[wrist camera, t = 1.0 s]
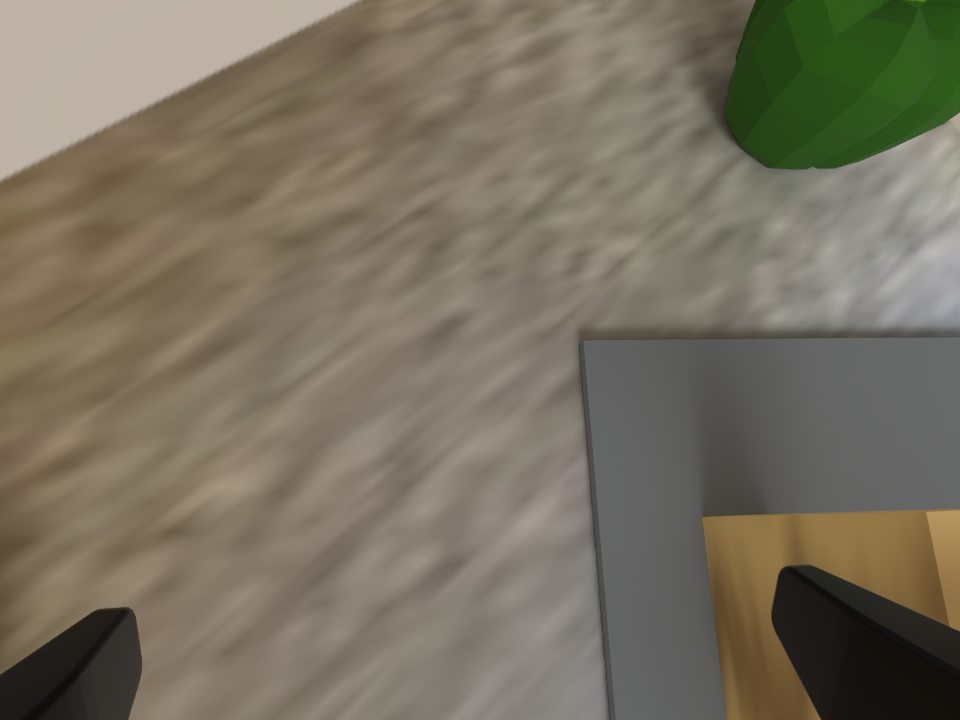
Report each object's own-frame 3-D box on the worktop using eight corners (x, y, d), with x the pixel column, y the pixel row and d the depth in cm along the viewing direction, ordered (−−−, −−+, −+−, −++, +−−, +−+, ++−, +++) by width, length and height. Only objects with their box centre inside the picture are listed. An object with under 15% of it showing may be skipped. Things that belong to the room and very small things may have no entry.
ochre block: (800, 731, 21) (1132, 903, 12) (729, 738, 21) (1009, 920, 11) (768, 514, 23) (1035, 506, 13) (702, 516, 23) (925, 511, 13)
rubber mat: (1127, 841, 22) (1146, 850, 22) (625, 903, 20) (632, 914, 19) (1002, 340, 27) (1015, 336, 26) (579, 344, 24) (583, 339, 24)
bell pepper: (654, 92, 28) (791, -138, 18) (785, 11, 30) (971, -236, 20) (782, 244, 26) (1000, 85, 17) (908, 149, 28) (1169, -42, 19)
